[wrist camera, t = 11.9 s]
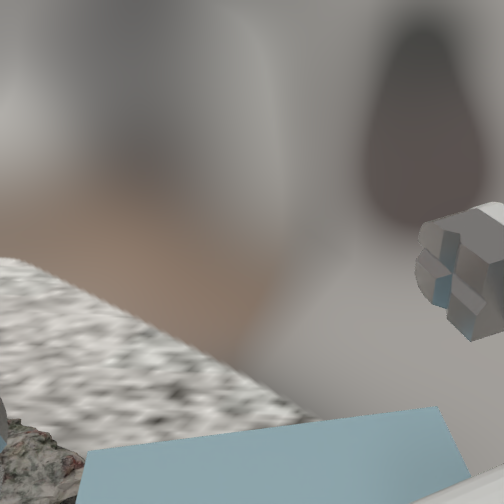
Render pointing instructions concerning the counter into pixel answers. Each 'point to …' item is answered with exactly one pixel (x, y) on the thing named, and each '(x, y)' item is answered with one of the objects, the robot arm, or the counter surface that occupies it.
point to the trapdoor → (285, 464)
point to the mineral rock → (37, 468)
